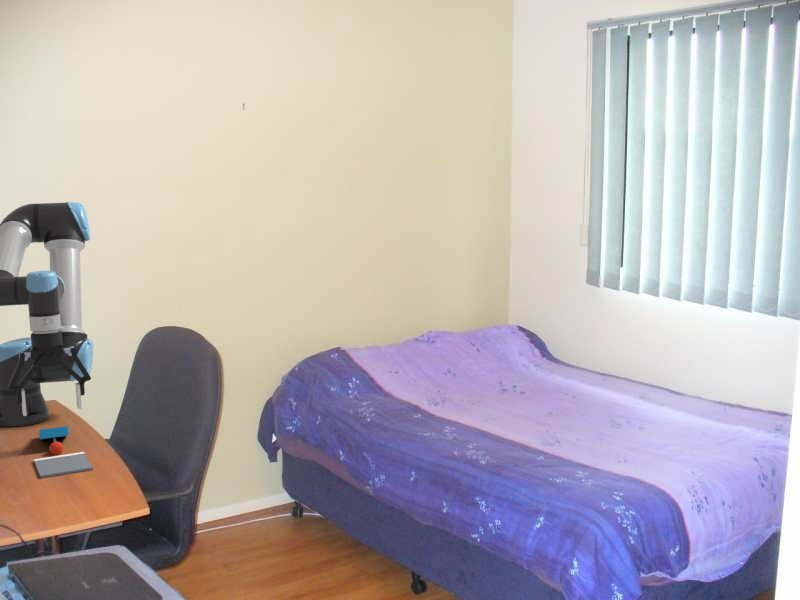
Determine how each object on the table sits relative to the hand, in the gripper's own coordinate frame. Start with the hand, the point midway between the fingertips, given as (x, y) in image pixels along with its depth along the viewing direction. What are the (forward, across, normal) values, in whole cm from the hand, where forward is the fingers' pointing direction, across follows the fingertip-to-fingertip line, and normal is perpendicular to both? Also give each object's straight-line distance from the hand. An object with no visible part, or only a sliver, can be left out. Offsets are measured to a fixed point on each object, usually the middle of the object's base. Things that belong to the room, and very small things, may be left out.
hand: (52, 411), depth 257 cm
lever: (+10, 0, +1) cm, 10 cm away
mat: (+10, 0, -18) cm, 21 cm away
